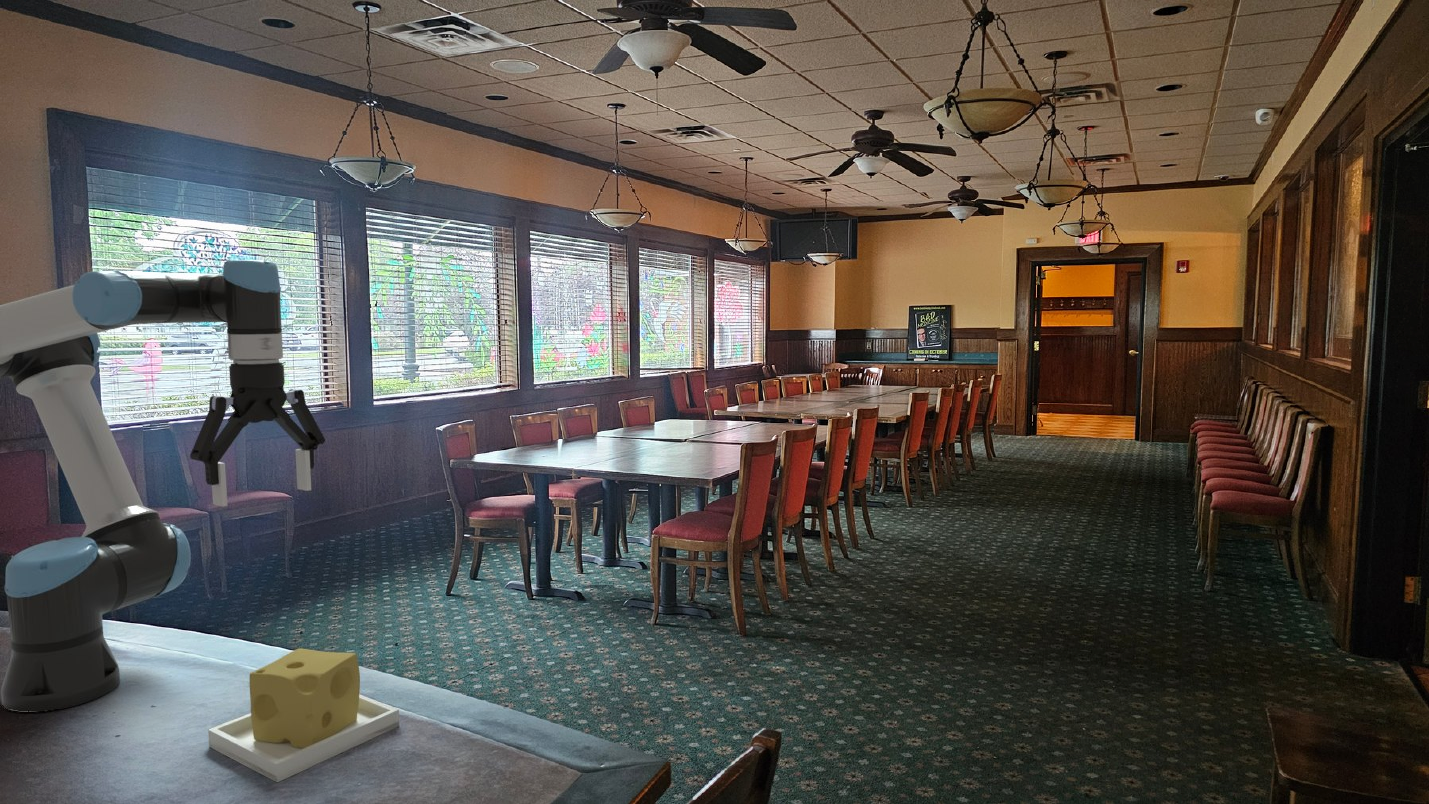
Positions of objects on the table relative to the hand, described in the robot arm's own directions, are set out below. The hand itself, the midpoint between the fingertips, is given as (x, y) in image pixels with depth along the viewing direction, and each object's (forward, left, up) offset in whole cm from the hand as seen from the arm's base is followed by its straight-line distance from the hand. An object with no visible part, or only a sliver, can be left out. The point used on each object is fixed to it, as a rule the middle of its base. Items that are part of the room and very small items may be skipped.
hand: (263, 497), depth 142 cm
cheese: (+20, -7, -30) cm, 37 cm away
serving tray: (+20, -7, -31) cm, 37 cm away
